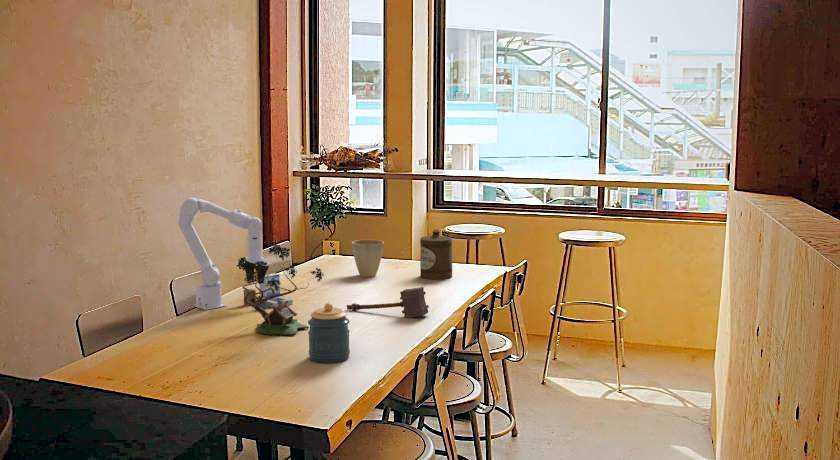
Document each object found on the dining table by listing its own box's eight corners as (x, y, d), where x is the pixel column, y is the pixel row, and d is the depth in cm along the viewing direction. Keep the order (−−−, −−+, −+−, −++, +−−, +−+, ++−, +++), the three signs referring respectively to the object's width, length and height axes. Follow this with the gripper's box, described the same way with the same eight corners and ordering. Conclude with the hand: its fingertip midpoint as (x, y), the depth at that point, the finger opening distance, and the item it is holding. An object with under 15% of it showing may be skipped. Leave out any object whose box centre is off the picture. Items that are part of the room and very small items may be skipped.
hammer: (423, 316, 317) (418, 289, 316) (346, 325, 330) (341, 299, 329) (430, 312, 323) (425, 286, 323) (354, 321, 336) (349, 296, 335)
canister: (329, 349, 279) (328, 296, 276) (358, 356, 271) (357, 302, 268) (300, 358, 269) (298, 303, 266) (329, 366, 261) (328, 310, 258)
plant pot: (347, 277, 394) (346, 243, 391) (358, 271, 408) (358, 238, 405) (377, 279, 389) (377, 245, 387) (388, 273, 403) (388, 240, 401)
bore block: (273, 308, 335) (273, 303, 335) (260, 304, 342) (260, 299, 341) (292, 304, 341) (292, 299, 341) (279, 300, 348) (279, 296, 347)
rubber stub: (261, 310, 332) (261, 300, 331) (256, 308, 334) (256, 298, 334) (269, 309, 334) (268, 299, 334) (264, 307, 337) (264, 297, 336)
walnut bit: (248, 306, 339) (248, 291, 338) (244, 304, 341) (243, 290, 340) (255, 304, 341) (255, 290, 340) (251, 303, 343) (250, 288, 343)
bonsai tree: (221, 337, 293) (218, 246, 289) (259, 320, 316) (256, 236, 311) (312, 347, 281) (310, 252, 276) (344, 329, 304) (343, 241, 299)
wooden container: (415, 275, 400) (415, 228, 397) (443, 272, 406) (443, 226, 403) (428, 280, 387) (428, 233, 384) (457, 278, 393) (458, 230, 390)
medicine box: (266, 297, 354) (265, 277, 353) (259, 296, 357) (258, 275, 355) (280, 294, 360) (279, 274, 359) (273, 292, 363) (272, 272, 362)
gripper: (273, 249, 335) (274, 283, 337) (253, 244, 346) (254, 277, 348) (258, 251, 330) (258, 285, 332) (238, 246, 341) (239, 279, 343)
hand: (255, 281), depth 340 cm, fingers open, 7 cm apart
